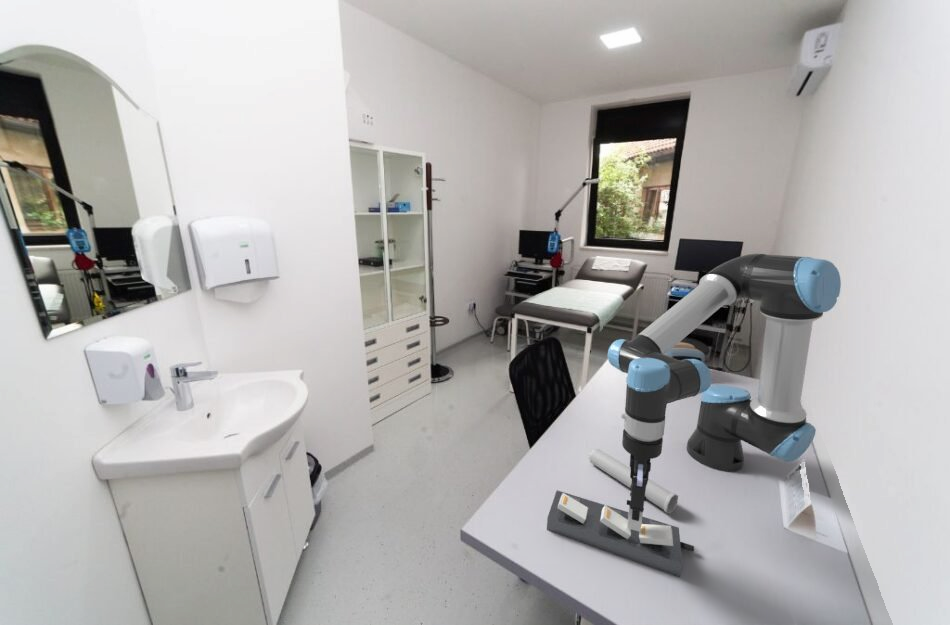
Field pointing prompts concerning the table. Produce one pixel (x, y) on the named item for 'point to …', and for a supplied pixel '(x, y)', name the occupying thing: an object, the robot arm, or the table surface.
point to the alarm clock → (685, 352)
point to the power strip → (617, 536)
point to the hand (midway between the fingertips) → (634, 527)
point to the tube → (622, 474)
